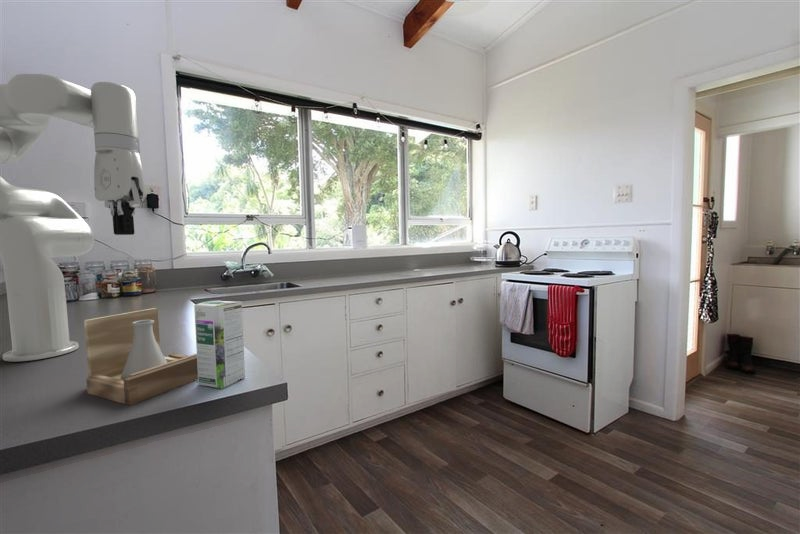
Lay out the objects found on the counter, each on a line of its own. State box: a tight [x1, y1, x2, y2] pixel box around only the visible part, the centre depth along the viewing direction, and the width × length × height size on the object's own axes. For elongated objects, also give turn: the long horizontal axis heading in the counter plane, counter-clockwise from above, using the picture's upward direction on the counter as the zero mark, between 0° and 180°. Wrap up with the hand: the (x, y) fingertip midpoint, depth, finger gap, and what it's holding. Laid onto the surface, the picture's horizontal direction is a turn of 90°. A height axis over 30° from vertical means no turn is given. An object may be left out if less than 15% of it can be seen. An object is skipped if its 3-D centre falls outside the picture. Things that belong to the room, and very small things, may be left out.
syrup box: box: [194, 300, 246, 390], centre depth 66 cm, size 6×6×14 cm
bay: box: [86, 352, 198, 407], centre depth 66 cm, size 12×15×4 cm
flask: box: [121, 320, 167, 379], centre depth 67 cm, size 7×7×10 cm
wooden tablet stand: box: [83, 307, 197, 384], centre depth 67 cm, size 13×12×12 cm
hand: (124, 234), depth 79 cm, fingers closed
